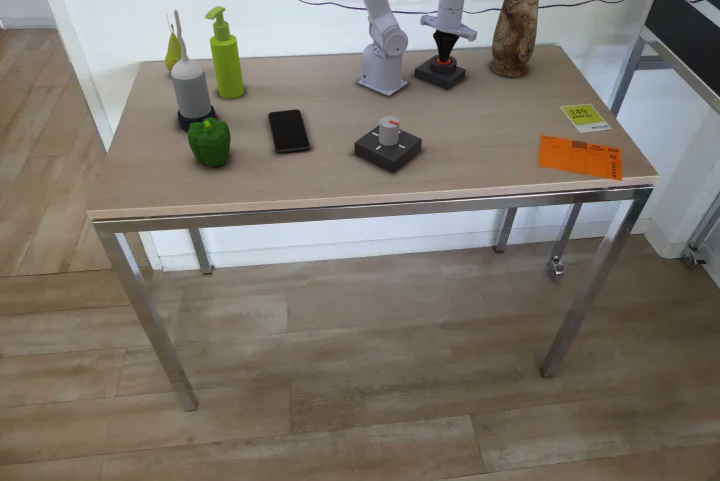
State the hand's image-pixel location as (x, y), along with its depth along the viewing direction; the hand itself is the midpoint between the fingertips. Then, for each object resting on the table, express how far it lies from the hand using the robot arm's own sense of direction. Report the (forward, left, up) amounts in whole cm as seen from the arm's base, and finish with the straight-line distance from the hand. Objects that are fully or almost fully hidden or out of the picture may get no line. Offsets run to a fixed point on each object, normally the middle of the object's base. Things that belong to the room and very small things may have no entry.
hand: (443, 60), depth 139 cm
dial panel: (+9, -35, -4) cm, 36 cm away
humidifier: (-30, -53, -4) cm, 61 cm away
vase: (+11, +14, -4) cm, 18 cm away
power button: (0, 0, -2) cm, 2 cm away
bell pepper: (-17, -60, -4) cm, 63 cm away
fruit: (-50, -42, -4) cm, 65 cm away
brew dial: (+9, -35, -1) cm, 36 cm away
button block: (0, -1, -4) cm, 4 cm away
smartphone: (-12, -43, -4) cm, 45 cm away
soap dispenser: (-34, -40, -4) cm, 53 cm away
